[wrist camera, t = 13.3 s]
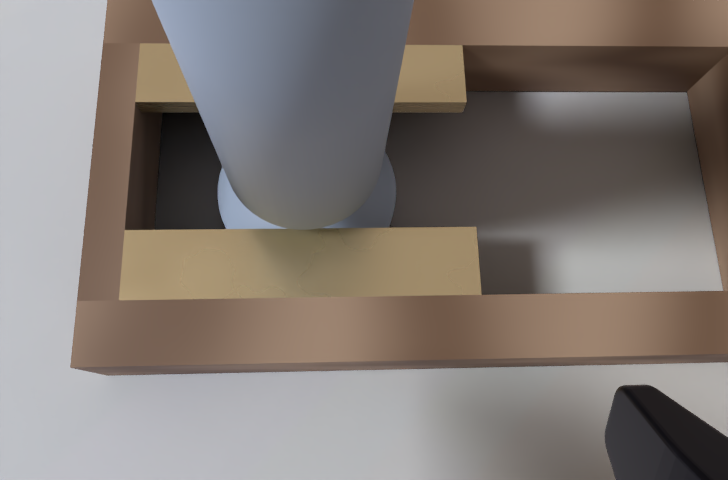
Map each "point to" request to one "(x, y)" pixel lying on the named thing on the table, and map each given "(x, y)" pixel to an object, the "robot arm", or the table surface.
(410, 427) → the table surface
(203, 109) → the slate peg
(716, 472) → the robot arm
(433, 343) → the keyhole block
